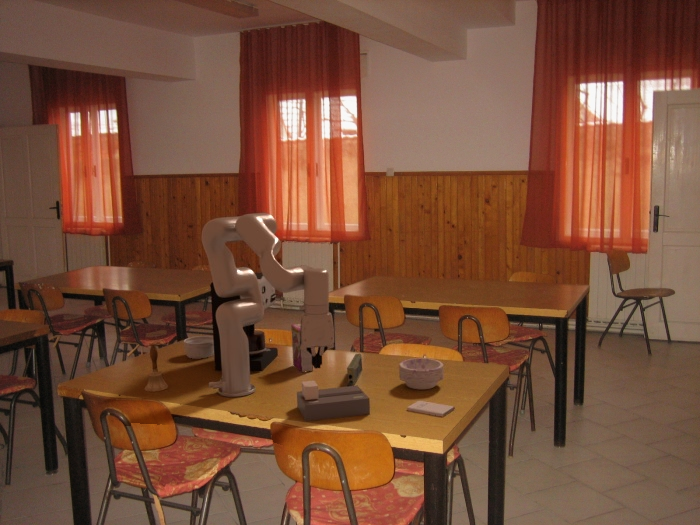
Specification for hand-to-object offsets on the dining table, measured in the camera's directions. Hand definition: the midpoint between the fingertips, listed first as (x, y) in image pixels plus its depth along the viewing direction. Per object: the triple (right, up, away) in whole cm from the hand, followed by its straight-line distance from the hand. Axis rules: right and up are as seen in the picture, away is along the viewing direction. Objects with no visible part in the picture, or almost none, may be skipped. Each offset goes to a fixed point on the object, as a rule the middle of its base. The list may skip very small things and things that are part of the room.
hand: (316, 367), depth 213 cm
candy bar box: (-8, -9, +51) cm, 53 cm away
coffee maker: (-31, -8, +60) cm, 68 cm away
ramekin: (-52, -7, +76) cm, 92 cm away
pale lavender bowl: (+35, -11, +25) cm, 44 cm away
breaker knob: (-2, -9, 0) cm, 9 cm away
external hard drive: (+35, -14, 0) cm, 38 cm away
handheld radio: (+12, -10, +35) cm, 38 cm away
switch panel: (+5, -14, +2) cm, 15 cm away
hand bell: (-58, -12, +31) cm, 67 cm away
